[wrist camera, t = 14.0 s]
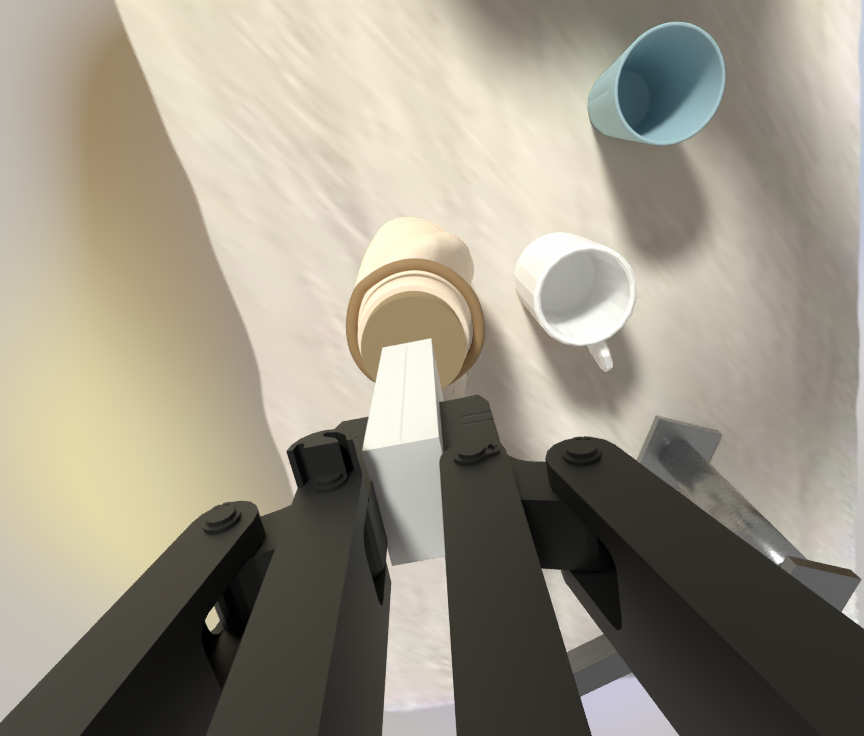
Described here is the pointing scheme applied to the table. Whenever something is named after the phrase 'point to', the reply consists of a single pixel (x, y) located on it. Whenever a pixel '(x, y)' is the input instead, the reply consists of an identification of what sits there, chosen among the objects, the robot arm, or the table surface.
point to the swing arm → (596, 664)
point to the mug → (576, 291)
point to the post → (734, 504)
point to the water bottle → (416, 300)
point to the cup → (660, 86)
